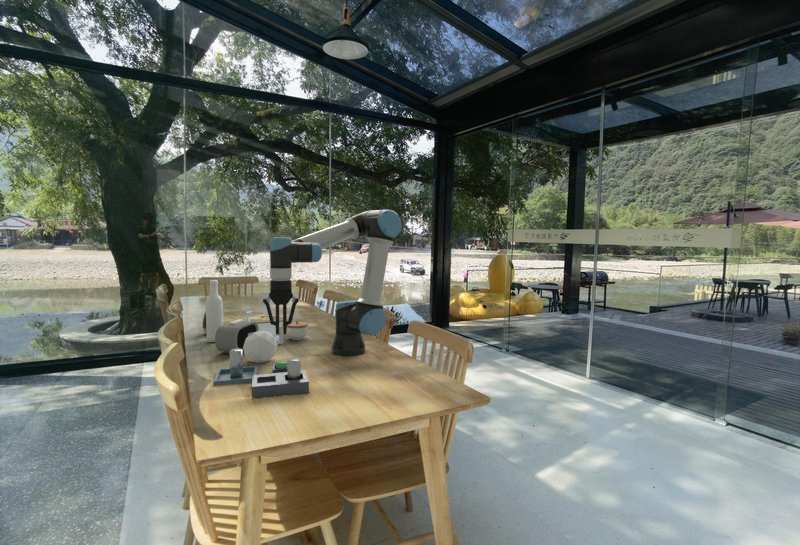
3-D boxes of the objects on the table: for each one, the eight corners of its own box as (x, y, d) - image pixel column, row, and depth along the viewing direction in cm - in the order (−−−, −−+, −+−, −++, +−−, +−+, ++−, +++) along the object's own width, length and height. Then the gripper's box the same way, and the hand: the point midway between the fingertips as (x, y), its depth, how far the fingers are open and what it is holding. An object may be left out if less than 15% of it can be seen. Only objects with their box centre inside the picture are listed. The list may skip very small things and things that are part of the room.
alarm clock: (235, 357, 181) (234, 326, 180) (215, 355, 182) (214, 325, 181) (259, 344, 201) (259, 317, 200) (241, 343, 203) (240, 316, 201)
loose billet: (243, 374, 156) (242, 348, 155) (242, 378, 152) (242, 351, 151) (230, 375, 155) (230, 349, 154) (229, 379, 150) (229, 352, 150)
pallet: (305, 381, 152) (305, 370, 151) (308, 393, 140) (308, 381, 140) (253, 386, 146) (253, 374, 146) (252, 399, 135) (251, 386, 135)
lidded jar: (305, 341, 208) (305, 323, 207) (283, 341, 208) (283, 322, 207) (310, 336, 218) (310, 318, 217) (289, 336, 218) (289, 318, 218)
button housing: (291, 373, 160) (291, 362, 160) (292, 379, 154) (292, 368, 153) (272, 374, 158) (272, 364, 158) (272, 380, 152) (272, 370, 151)
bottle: (205, 343, 202) (203, 281, 200) (207, 339, 210) (206, 279, 207) (223, 342, 204) (221, 281, 202) (225, 338, 212) (223, 279, 209)
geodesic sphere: (240, 356, 161) (261, 326, 166) (229, 349, 172) (249, 320, 176) (269, 373, 169) (288, 343, 174) (257, 364, 180) (275, 336, 184)
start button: (288, 368, 159) (288, 360, 158) (288, 371, 154) (288, 363, 154) (276, 369, 157) (275, 361, 157) (276, 372, 153) (276, 364, 153)
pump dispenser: (198, 335, 218) (197, 306, 217) (210, 330, 228) (209, 303, 227) (216, 336, 216) (215, 307, 215) (227, 331, 227) (226, 303, 225)
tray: (257, 371, 162) (257, 365, 162) (256, 383, 149) (256, 377, 148) (218, 374, 158) (218, 368, 158) (213, 387, 145) (213, 381, 144)
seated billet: (300, 385, 148) (299, 357, 147) (301, 390, 143) (300, 361, 142) (287, 386, 146) (286, 358, 145) (287, 391, 142) (287, 362, 141)
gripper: (298, 278, 158) (298, 339, 160) (262, 278, 154) (262, 341, 156) (300, 280, 151) (300, 344, 153) (261, 280, 147) (262, 346, 149)
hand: (281, 343), depth 155 cm, fingers closed
